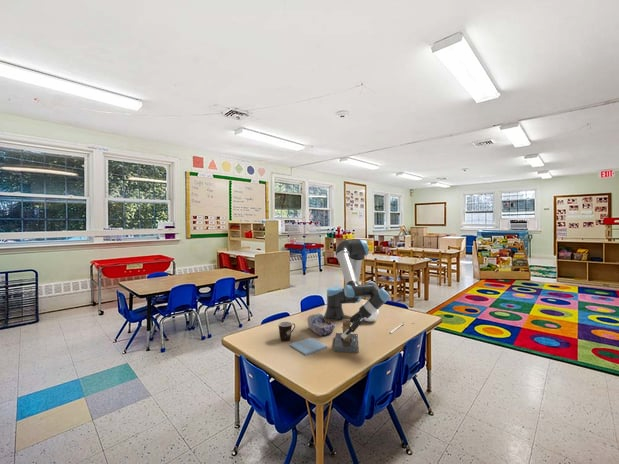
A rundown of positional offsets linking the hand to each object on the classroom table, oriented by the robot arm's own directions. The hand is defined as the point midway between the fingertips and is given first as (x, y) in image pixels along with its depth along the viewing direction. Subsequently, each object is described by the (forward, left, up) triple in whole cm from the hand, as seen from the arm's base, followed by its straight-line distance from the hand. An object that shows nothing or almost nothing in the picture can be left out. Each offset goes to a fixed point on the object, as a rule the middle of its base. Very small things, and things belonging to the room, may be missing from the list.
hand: (342, 332), depth 176 cm
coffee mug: (+22, -27, -7) cm, 36 cm away
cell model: (-3, -25, -8) cm, 26 cm away
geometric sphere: (-45, -18, -7) cm, 49 cm away
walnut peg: (-2, +2, -7) cm, 8 cm away
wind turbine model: (-52, +1, -8) cm, 52 cm away
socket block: (-2, +2, -7) cm, 8 cm away
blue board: (+18, -10, -7) cm, 22 cm away
